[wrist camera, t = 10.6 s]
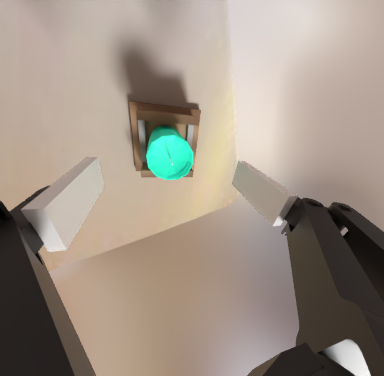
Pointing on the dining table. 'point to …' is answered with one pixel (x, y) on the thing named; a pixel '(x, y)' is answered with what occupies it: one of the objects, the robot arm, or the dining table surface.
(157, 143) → the candle
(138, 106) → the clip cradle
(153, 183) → the dining table surface
